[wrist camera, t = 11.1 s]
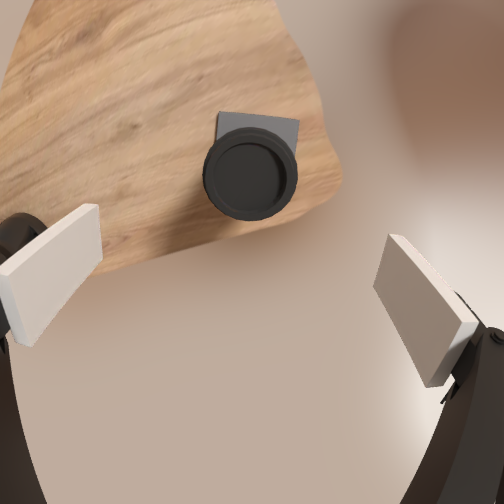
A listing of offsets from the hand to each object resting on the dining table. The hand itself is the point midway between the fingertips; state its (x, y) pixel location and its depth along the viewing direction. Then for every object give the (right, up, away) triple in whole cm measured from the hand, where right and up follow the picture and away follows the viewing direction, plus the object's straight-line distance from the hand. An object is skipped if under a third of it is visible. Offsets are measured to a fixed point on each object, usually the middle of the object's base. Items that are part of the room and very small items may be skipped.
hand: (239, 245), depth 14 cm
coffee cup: (+1, +12, +26) cm, 28 cm away
